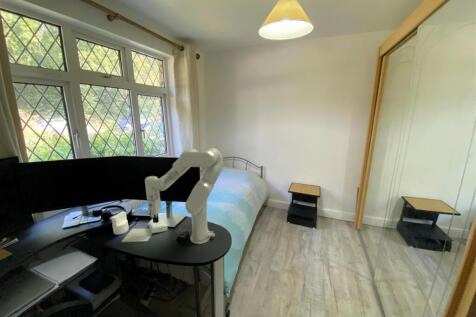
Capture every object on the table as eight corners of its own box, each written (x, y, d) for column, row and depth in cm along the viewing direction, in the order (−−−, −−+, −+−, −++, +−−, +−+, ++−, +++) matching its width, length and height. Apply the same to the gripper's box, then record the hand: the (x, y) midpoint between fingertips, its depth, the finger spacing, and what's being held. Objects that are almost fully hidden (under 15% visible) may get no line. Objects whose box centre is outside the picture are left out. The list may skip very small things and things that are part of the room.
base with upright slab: (121, 225, 142) (119, 210, 139) (131, 227, 140) (129, 212, 137) (110, 233, 134) (107, 217, 131) (121, 235, 131) (118, 218, 129)
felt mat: (155, 228, 138) (155, 228, 138) (147, 241, 125) (147, 240, 125) (132, 229, 138) (132, 228, 138) (121, 242, 124) (121, 241, 124)
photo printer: (167, 231, 135) (162, 224, 145) (167, 225, 135) (162, 218, 145) (151, 233, 129) (147, 226, 139) (151, 227, 129) (147, 220, 139)
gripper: (154, 201, 117) (157, 228, 121) (163, 191, 132) (165, 216, 136) (142, 201, 117) (145, 228, 121) (151, 191, 131) (154, 216, 136)
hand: (155, 222), depth 129 cm, fingers closed
